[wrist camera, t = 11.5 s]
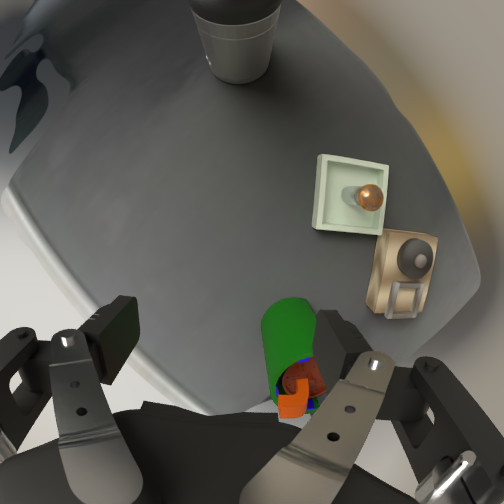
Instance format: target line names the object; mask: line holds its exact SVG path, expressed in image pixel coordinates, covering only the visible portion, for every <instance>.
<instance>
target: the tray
mask: <svg viewBox="0 0 504 504" xmlns="http://www.w3.org/2000/svg"><path fill="white" fill-rule="evenodd" d="M388 172H389V165H384V164H379V163H374V162H369V161H363V160H358V159H352V158H346V157H340V156H334V155H327V154H321V155H318V157H317V171H316V183H315V195H314V206H313V216H312V227H314V228H315V229H321V230H332V231H343V232H353V233H364V234H374V235H382V231H383V223H384V215H385V206H386V197H387V185H388ZM366 184H374V185H377V186H378V187H379V188H380V189H381V190H382V192H383V196H384V200H383V204H382V206H381V207H380V208H379V209H378V210H376V211H367V210H364V209H363V208H362V207H359V206H354V205H350V204H346V203H345V202H344V201H343V200H342V198H341V192H342V190H343V188H345V187H346V186H364V185H366Z"/></svg>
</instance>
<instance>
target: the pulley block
mask: <svg viewBox="0 0 504 504" xmlns="http://www.w3.org/2000/svg"><path fill="white" fill-rule="evenodd" d="M437 243H438V238H437V237H434V236H431V235H428V234H425V233H418V232H410V231H402V230H394V229H385V228H383V231H382V235H377V242H376V249H375V255H374V261H373V267H372V272H371V278H370V283H369V288H368V293H367V298H366V302H365V304H366V305H367V306H368V307H369V308H370V309H371V310H372V311H373V312H374V313H385V315H384V316H385V317H386V318H387V319H402V318H416V316H417V313H418V312H422V310H423V306H424V303H425V299H426V295H427V291H428V287H429V283H430V279H431V274H432V269H433V265H434V260H435V254H436V249H437Z"/></svg>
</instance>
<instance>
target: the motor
mask: <svg viewBox="0 0 504 504" xmlns="http://www.w3.org/2000/svg"><path fill="white" fill-rule="evenodd" d="M316 321H317V318H316V316H315V315H314V313H313V311H312V309H311V307H310V305H309V304H308V302H307V300H305V299H302V298H287V299H283V300H281V301H279V302H277V303H275V304H274V305H272V306H271V307H270V308H269V309H268V310H267V312H266V313H265V315H264V317H263V319H262V323H261V332H262V339H263V346H264V353H265V360H266V367H267V374H268V381H269V389H270V395H271V398H272V400H273V401H274V403H275V404H276V405H277V406H278V409H279V415H280V418H298V417H301V416H303V415H304V414H308V413H314V412H316V411H317V410H318V408H319V407H320V406H319V403H318V400H317V396H320V395H322V394H323V393H325V392H326V391H327V390H326V387H325V385H324V382H323V379H322V376H321V374H320V371H319V368H318V366H317V363H316V361H315V358H314V355H313V350H312V343H313V337H314V332H315V327H316ZM316 389H317V390H316Z"/></svg>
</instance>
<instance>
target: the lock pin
mask: <svg viewBox="0 0 504 504" xmlns="http://www.w3.org/2000/svg"><path fill="white" fill-rule="evenodd" d="M341 198H342V200H343V201H344V202H345V203H346V204H350V205H354V206H359V207H362V208H363V209H364V210H367V211H376V210H378V209H379V208H380V207H381V206H382V204H383V200H384V196H383V192H382V190H381V189H380V188H379V187H378V186H377V185H374V184H366V185H364V186H346V187H345V188H343V190H342V192H341Z"/></svg>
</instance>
